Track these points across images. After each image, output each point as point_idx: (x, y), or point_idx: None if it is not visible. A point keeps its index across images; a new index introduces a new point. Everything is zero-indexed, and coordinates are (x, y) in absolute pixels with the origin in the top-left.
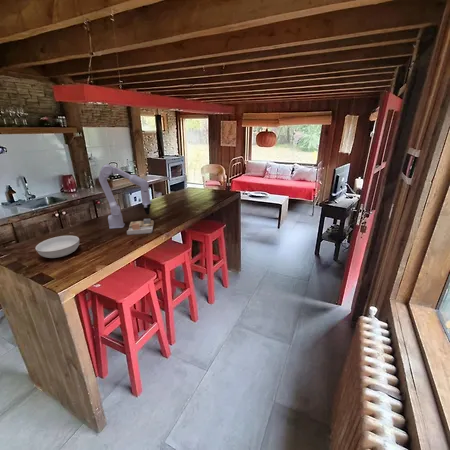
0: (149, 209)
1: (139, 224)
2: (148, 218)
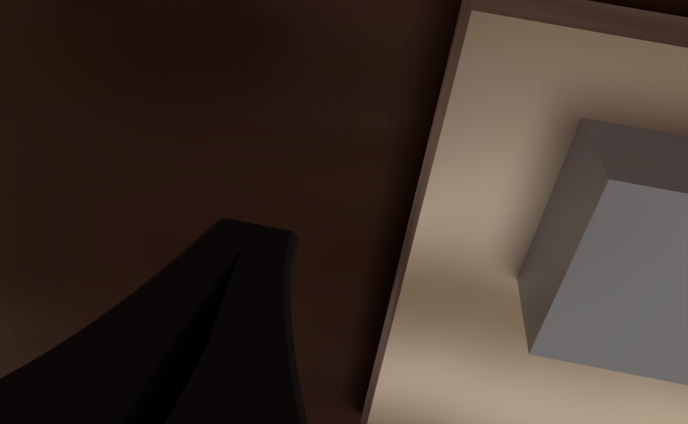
0: (229, 378)
1: (650, 391)
2: (578, 241)
